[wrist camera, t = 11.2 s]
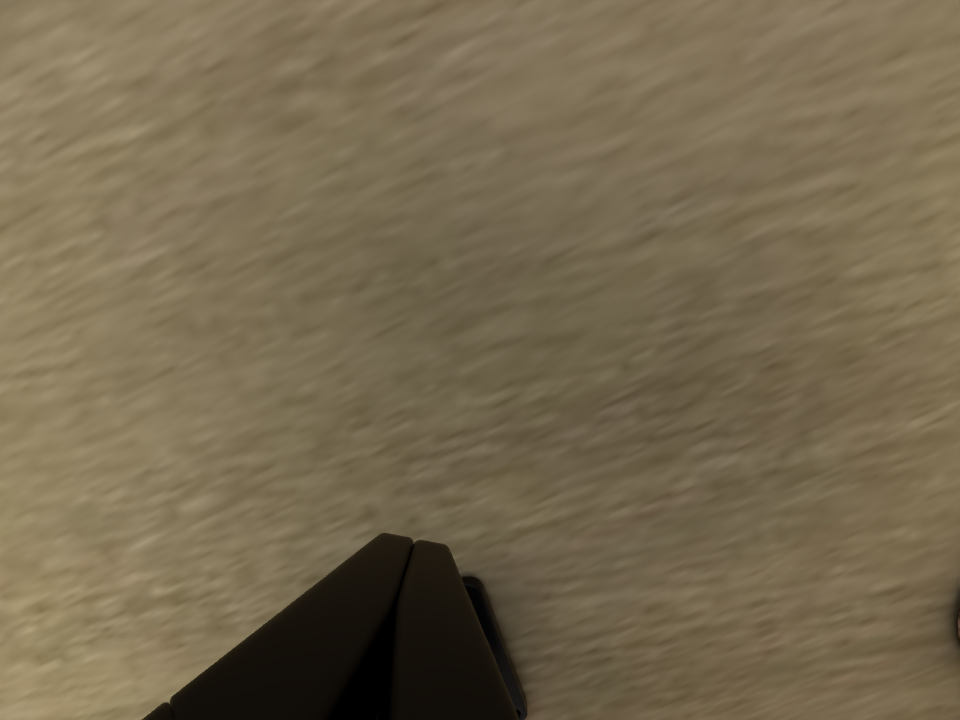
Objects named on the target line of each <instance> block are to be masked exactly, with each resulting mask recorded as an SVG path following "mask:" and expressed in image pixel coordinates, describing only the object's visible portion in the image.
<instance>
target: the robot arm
mask: <svg viewBox="0 0 960 720" xmlns="http://www.w3.org/2000/svg"><path fill="white" fill-rule="evenodd" d="M466 590H472V591H473V592H474V593H472V594H468V593H467V591H466ZM515 708H516V709H515ZM526 717H527V701H526V699H525V696H524V693H523V691H522V688H521V686H520V683H519V680H518V678H517V675H516V672H515V670H514V667H513V664H512V662H511V659H510V656H509V654H508V651H507V648H506V646H505V643H504V640H503V638H502V635H501V632H500V630H499V627H498V624H497V622H496V619H495V616H494V614H493V611H492V608H491V606H490V603H489V600H488V598H487V595H486V592H485V590H484V587H483V585H482V583H481V582H480V580H478V579H477V578H475V577H471V576H466V577H461V576H460V574H459V571H458V569H457V566H456V564H455V561H454V559H453V557H452V554H451V552H450V550H449V548H448V546H446V545H445V544H440V543H435V542H430V541H425V540H418V541H416V542H415V543H414V542H413V540H412V539H411V538H409V537H404V536H399V535H394V534H389V533H382V534H380V535H378V536H377V537H376V538H374V539H373V540H372V541H370V542H369V543H368V544H367V545H365V546H364V547H363V548H361V549H360V550H359V551H358V552H356V553H355V554H354V555H353V556H351V557H350V558H349V559H347V560H346V561H345V562H344V563H342V564H341V565H340V566H338V567H337V568H336V569H335V570H333V571H332V572H331V573H329V574H328V575H327V576H326V577H324V578H323V579H322V580H320V581H319V582H318V583H317V584H315V585H314V586H313V587H312V588H310V589H309V590H308V591H306V592H305V593H304V594H303V595H301V596H300V597H299V598H297V599H296V600H295V601H294V602H292V603H291V604H290V605H288V606H287V607H286V608H285V609H283V610H282V611H281V612H280V613H278V614H277V615H276V616H274V617H273V618H272V619H271V620H269V621H268V622H267V623H265V624H264V625H263V626H262V627H260V628H259V629H258V630H256V631H255V632H254V633H253V634H251V635H250V636H249V637H247V638H246V639H245V640H244V641H242V642H241V643H240V644H239V645H237V646H236V647H235V648H233V649H232V650H231V651H230V652H228V653H227V654H226V655H224V656H223V657H222V658H221V659H219V660H218V661H217V662H215V663H214V664H213V665H212V666H210V667H209V668H208V669H207V670H205V671H204V672H203V673H201V674H200V675H199V676H198V677H196V678H195V679H194V680H192V681H191V682H190V683H189V684H187V685H186V686H185V687H183V688H182V689H181V690H180V691H178V692H177V693H176V694H174V695H173V696H172V697H171V699H170V704H169V703H167V702H165V703H162V704H161V705H160V706H159V707H157V708H156V709H155V710H153V711H152V712H151V713H150V714H148V715H147V716H146V717H144V718H143V719H142V720H525V719H526Z"/></svg>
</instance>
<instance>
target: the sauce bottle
mask: <svg viewBox="0 0 960 720" xmlns="http://www.w3.org/2000/svg"><path fill="white" fill-rule="evenodd" d="M957 622H958V629H959V632H958V637H959V638H960V611H959V616H958V620H957Z"/></svg>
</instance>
